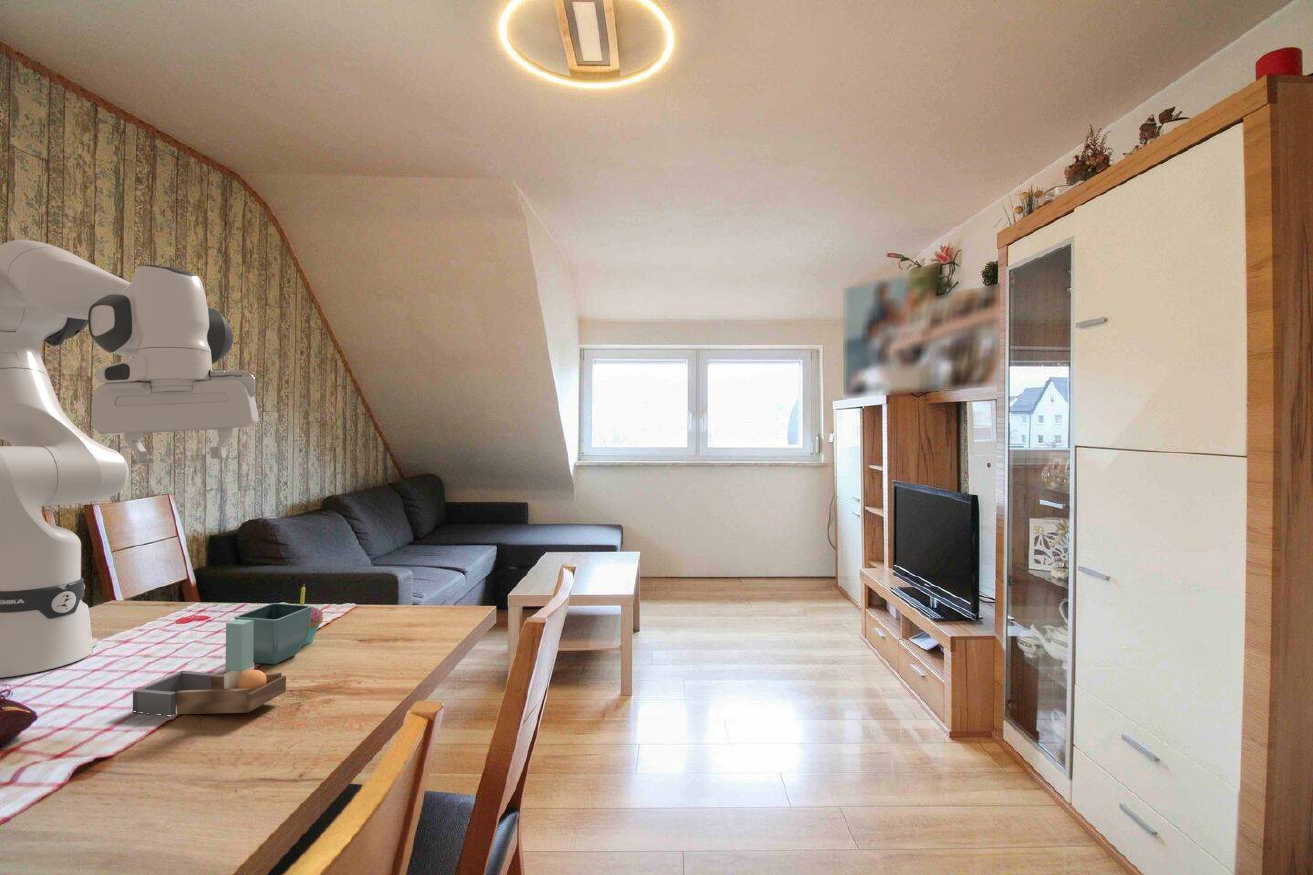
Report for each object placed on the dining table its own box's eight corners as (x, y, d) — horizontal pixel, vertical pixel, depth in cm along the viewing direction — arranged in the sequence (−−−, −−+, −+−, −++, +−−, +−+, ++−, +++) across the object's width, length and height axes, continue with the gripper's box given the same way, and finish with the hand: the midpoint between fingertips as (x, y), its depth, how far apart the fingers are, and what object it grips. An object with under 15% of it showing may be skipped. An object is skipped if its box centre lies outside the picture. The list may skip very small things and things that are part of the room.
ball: (233, 701, 85) (229, 676, 86) (253, 690, 89) (250, 667, 89) (254, 698, 85) (250, 674, 85) (274, 688, 88) (270, 665, 89)
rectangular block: (218, 698, 85) (218, 625, 85) (243, 686, 90) (244, 616, 90) (234, 700, 85) (235, 626, 85) (259, 687, 89) (260, 617, 89)
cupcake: (331, 640, 116) (332, 581, 116) (285, 653, 109) (286, 590, 109) (309, 632, 121) (310, 575, 121) (264, 644, 114) (265, 583, 114)
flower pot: (275, 670, 102) (276, 619, 102) (232, 666, 103) (232, 616, 103) (313, 652, 110) (313, 605, 110) (272, 649, 112) (273, 602, 112)
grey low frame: (132, 712, 86) (132, 691, 86) (182, 690, 93) (182, 670, 93) (170, 716, 85) (170, 694, 85) (217, 693, 92) (217, 673, 92)
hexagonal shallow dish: (175, 713, 85) (175, 683, 85) (214, 694, 92) (214, 666, 92) (250, 721, 83) (251, 690, 83) (285, 701, 90) (286, 672, 90)
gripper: (261, 372, 95) (267, 455, 95) (107, 376, 89) (113, 465, 89) (247, 366, 89) (253, 455, 89) (81, 370, 83) (87, 466, 83)
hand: (182, 460), depth 89 cm, fingers open, 8 cm apart
